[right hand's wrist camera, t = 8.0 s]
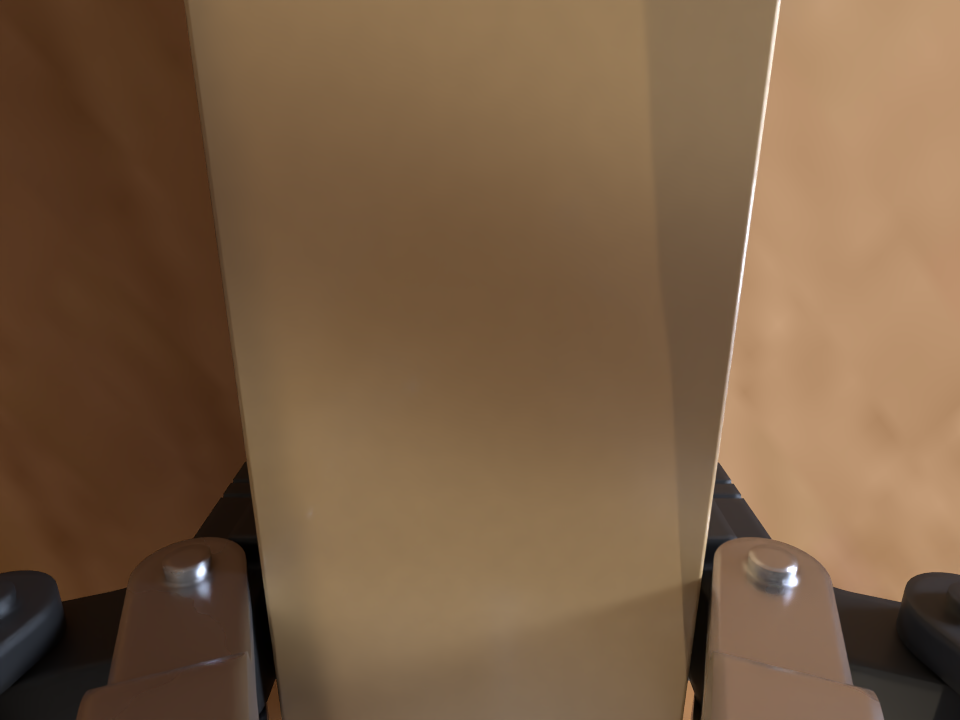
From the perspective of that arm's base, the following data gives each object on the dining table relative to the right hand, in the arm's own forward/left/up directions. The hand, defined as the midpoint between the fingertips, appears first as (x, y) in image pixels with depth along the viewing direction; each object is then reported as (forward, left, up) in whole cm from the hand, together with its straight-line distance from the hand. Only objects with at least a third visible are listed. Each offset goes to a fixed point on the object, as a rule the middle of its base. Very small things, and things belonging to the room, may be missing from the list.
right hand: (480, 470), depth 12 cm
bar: (+23, -17, -2) cm, 29 cm away
